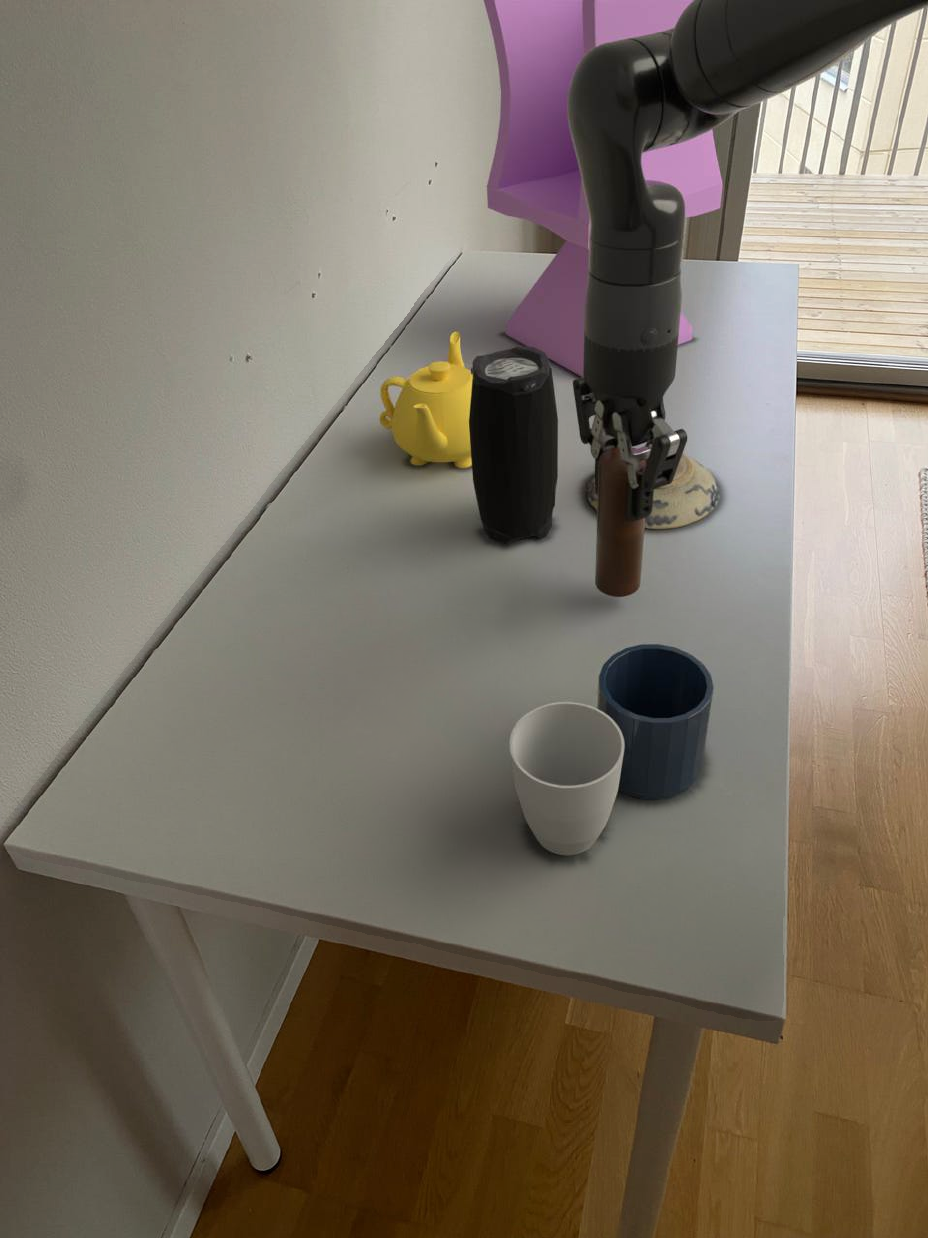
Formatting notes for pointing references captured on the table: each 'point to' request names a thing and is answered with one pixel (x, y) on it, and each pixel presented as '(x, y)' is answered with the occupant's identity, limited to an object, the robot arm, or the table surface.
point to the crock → (657, 717)
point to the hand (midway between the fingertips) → (621, 503)
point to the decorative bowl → (678, 497)
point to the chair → (571, 151)
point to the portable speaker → (514, 442)
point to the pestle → (617, 530)
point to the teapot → (433, 411)
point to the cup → (566, 773)
